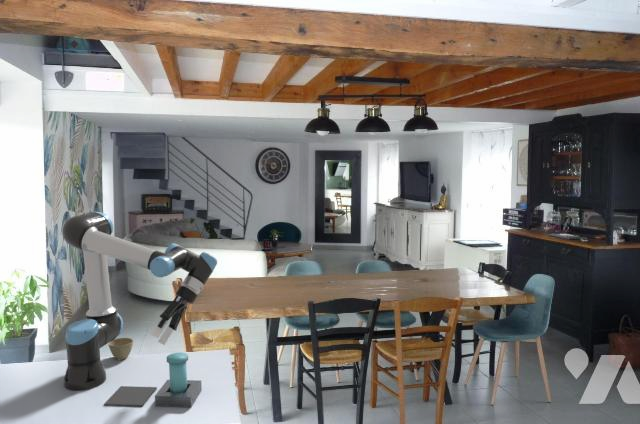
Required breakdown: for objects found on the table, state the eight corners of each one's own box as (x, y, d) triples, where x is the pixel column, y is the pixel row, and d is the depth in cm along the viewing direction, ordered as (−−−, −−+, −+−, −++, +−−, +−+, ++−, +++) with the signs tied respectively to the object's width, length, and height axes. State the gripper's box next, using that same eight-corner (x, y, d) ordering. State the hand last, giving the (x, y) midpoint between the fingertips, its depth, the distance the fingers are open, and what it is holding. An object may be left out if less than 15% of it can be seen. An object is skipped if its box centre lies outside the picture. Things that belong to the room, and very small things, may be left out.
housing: (155, 406, 195) (154, 395, 194) (167, 389, 208) (167, 379, 207) (191, 407, 194) (190, 396, 193) (201, 390, 207) (201, 380, 206)
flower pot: (125, 363, 232) (125, 346, 231) (104, 361, 234) (103, 345, 233) (138, 353, 242) (137, 338, 241) (117, 352, 244) (116, 336, 243)
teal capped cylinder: (165, 403, 197) (163, 360, 195) (172, 393, 205) (170, 352, 202) (186, 403, 197) (184, 361, 194) (192, 393, 204) (190, 352, 202)
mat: (104, 405, 196) (103, 403, 195) (120, 387, 209) (120, 386, 209) (142, 406, 195) (142, 405, 194) (156, 388, 208) (156, 387, 208)
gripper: (194, 285, 197) (160, 338, 189) (201, 302, 220) (171, 350, 212) (176, 275, 198) (142, 327, 190) (185, 294, 221) (155, 341, 213)
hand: (157, 340), depth 201 cm, fingers open, 13 cm apart
